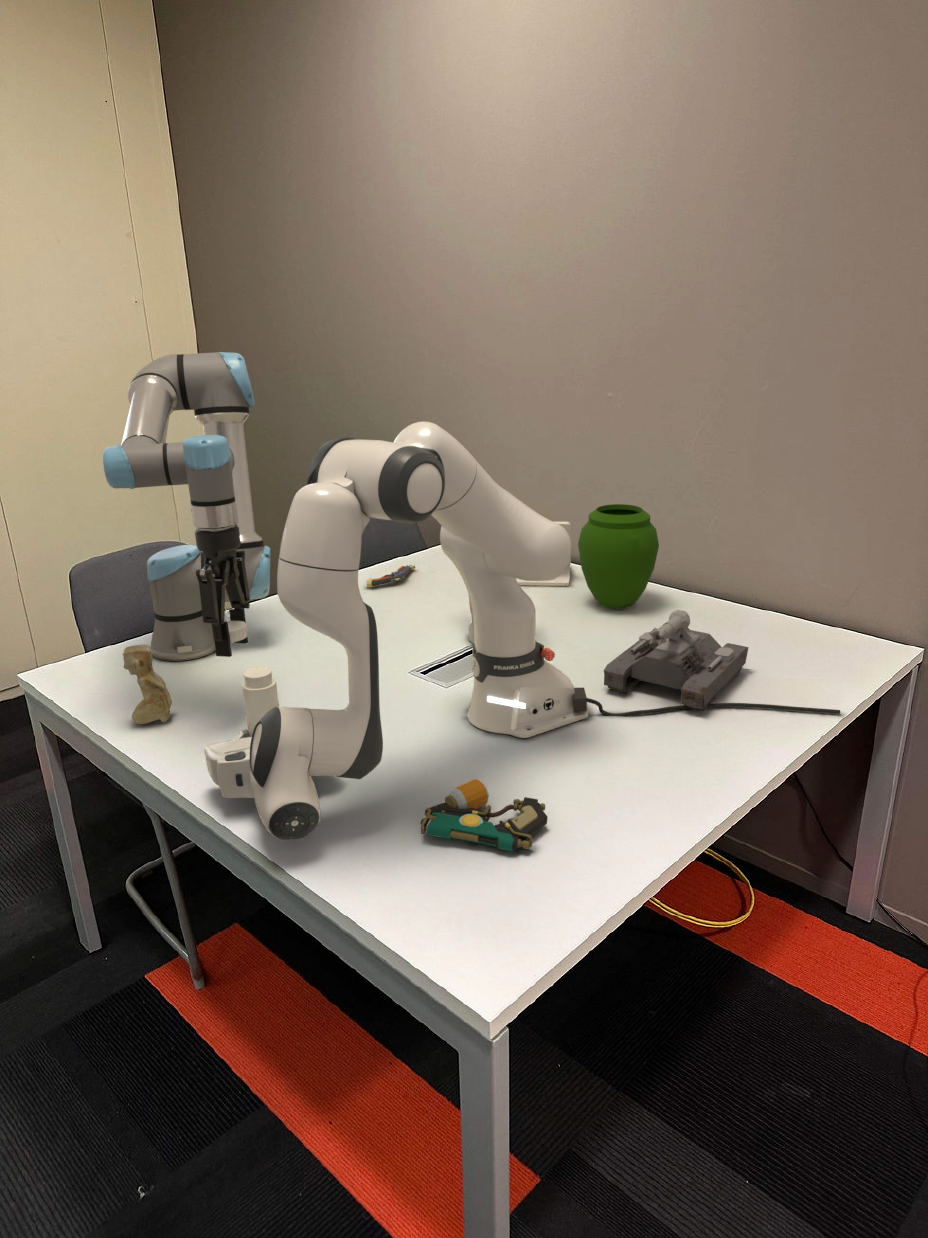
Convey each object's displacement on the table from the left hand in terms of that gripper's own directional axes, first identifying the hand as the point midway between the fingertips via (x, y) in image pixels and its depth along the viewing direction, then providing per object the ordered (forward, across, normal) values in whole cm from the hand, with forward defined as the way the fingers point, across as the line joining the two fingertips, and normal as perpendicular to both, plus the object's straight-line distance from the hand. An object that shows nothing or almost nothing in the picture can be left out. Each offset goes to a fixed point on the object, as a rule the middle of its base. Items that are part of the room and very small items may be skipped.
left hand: (232, 648), depth 157 cm
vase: (+14, -74, +65) cm, 99 cm away
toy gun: (+13, -86, +2) cm, 87 cm away
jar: (+14, +15, +13) cm, 24 cm away
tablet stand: (+13, -94, +39) cm, 103 cm away
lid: (-4, 0, 0) cm, 4 cm away
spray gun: (+15, +27, +53) cm, 61 cm away
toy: (+14, -30, +80) cm, 87 cm away
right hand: (+8, +14, +12) cm, 20 cm away
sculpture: (+14, +4, -16) cm, 22 cm away
